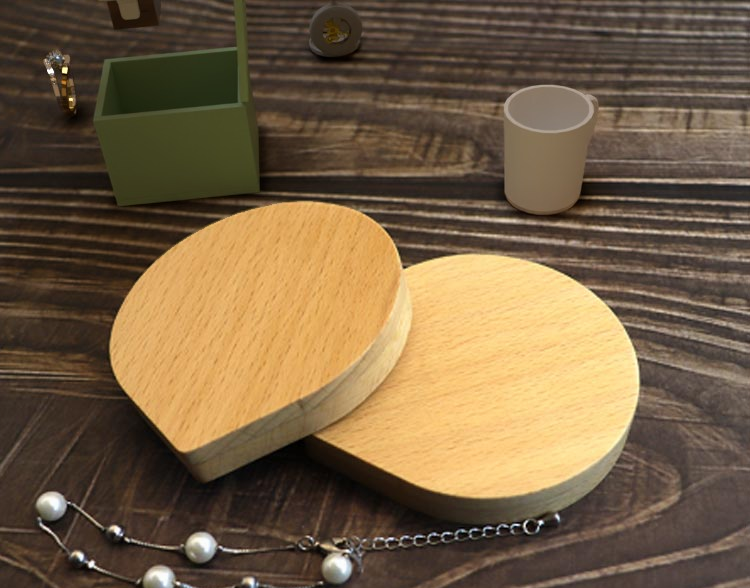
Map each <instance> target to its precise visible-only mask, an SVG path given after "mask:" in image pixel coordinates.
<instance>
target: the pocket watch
mask: <svg viewBox="0 0 750 588" xmlns="http://www.w3.org/2000/svg"><path fill="white" fill-rule="evenodd" d="M330 1H331V2H330V3H328V4H325V5H323V6H321V7H320V8H319V9H318V10H317V11H315V12H314V14H313V16H312V18H311V19H310V22H309V25H308V26H309V27H308V31H309V32H308V33H309V37H310V38H309V40H308V46H309V48H310V50H311V51H312V52H313V54H316V55H318V56H320V57H326V58H338V57H342V56H347V55H349V54H351V53H353V52H355V50H357V49H358V48H359V46H360V42H361V37H362V34H363V23H362V19H361V16H360V15H359V13H358V11H356V10H355V9H354V8H353V7H352V6H350V5H348V4H345V3H342V2H336V0H330Z"/></svg>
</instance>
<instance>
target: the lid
mask: <svg viewBox="0 0 750 588" xmlns="http://www.w3.org/2000/svg"><path fill="white" fill-rule="evenodd" d="M246 3H247V2H246V0H233V12H234V26H235V27H234V29H235V40H236V41H235V42H236V47H237V56H238V70H239V84H240V98H241V102H248V101H249V91H248V68H249V33H248V19H247V18H248V17H247V4H246Z"/></svg>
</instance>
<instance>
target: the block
mask: <svg viewBox="0 0 750 588" xmlns="http://www.w3.org/2000/svg"><path fill="white" fill-rule="evenodd" d="M139 4H140V8H141V10H140V17H139V18H137V19H130V20H125V19H123V18H122V16H121V13H120V9H119V5H118V3H117V1H116V0H115V1H106V5H107V8H108V13H109V17H110V21H111V24H112V27H113V30H114V31H119V30H129V29H138V28H148V27H158V26H160V20H161V11H162V10H161V9H162V2H161V0H139Z"/></svg>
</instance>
